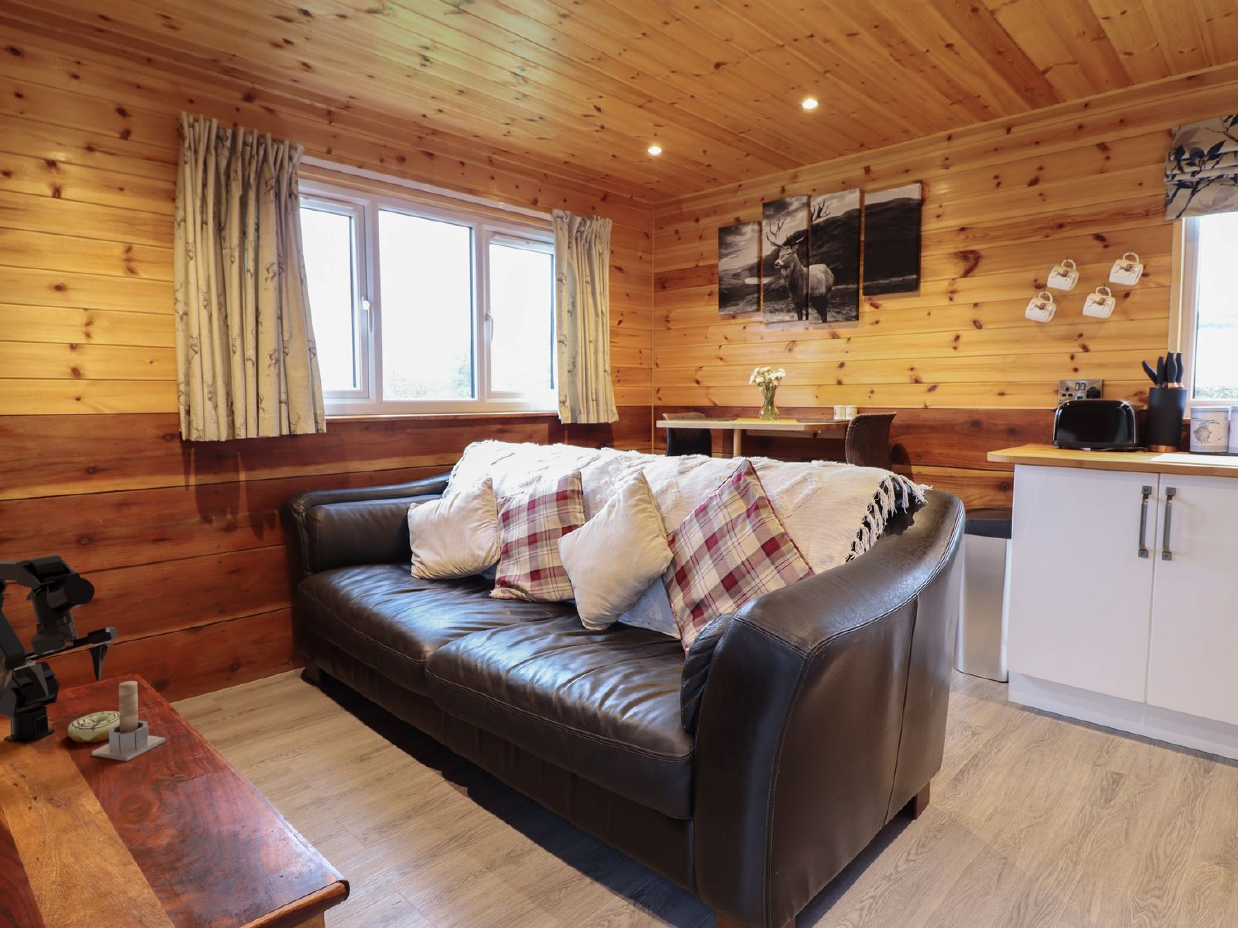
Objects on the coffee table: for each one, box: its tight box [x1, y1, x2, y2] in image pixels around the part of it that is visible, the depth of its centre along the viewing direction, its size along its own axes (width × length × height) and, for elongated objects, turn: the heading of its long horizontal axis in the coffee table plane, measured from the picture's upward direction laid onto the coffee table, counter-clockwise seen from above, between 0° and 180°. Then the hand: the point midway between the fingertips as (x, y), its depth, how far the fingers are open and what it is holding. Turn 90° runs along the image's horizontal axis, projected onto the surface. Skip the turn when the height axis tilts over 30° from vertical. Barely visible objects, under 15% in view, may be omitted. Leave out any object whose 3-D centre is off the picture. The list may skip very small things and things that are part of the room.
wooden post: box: [118, 680, 139, 733], centre depth 152 cm, size 3×3×13 cm
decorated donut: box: [67, 710, 120, 743], centre depth 159 cm, size 10×11×4 cm
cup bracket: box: [91, 719, 166, 762], centre depth 152 cm, size 9×9×4 cm
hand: (72, 688), depth 151 cm, fingers open, 9 cm apart
